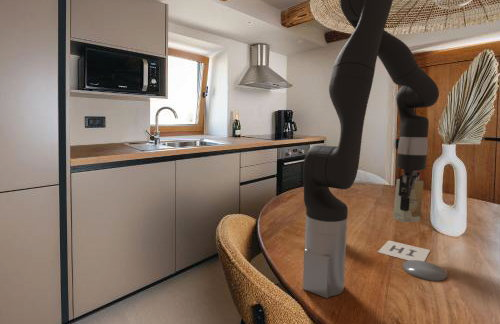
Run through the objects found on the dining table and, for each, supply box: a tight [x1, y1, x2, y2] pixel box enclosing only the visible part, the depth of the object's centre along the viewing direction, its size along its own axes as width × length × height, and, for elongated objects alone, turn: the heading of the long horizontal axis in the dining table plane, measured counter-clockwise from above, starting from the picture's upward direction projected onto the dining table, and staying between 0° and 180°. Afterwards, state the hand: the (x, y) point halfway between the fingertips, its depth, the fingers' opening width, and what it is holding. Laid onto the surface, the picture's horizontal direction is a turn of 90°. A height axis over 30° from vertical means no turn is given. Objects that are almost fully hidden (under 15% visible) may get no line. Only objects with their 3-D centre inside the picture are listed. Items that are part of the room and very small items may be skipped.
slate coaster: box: [402, 260, 448, 282], centre depth 78 cm, size 10×10×1 cm
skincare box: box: [392, 178, 425, 223], centre depth 87 cm, size 6×4×12 cm
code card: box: [377, 239, 431, 262], centre depth 90 cm, size 12×12×1 cm
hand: (407, 207), depth 88 cm, fingers closed on skincare box, 7 cm apart
